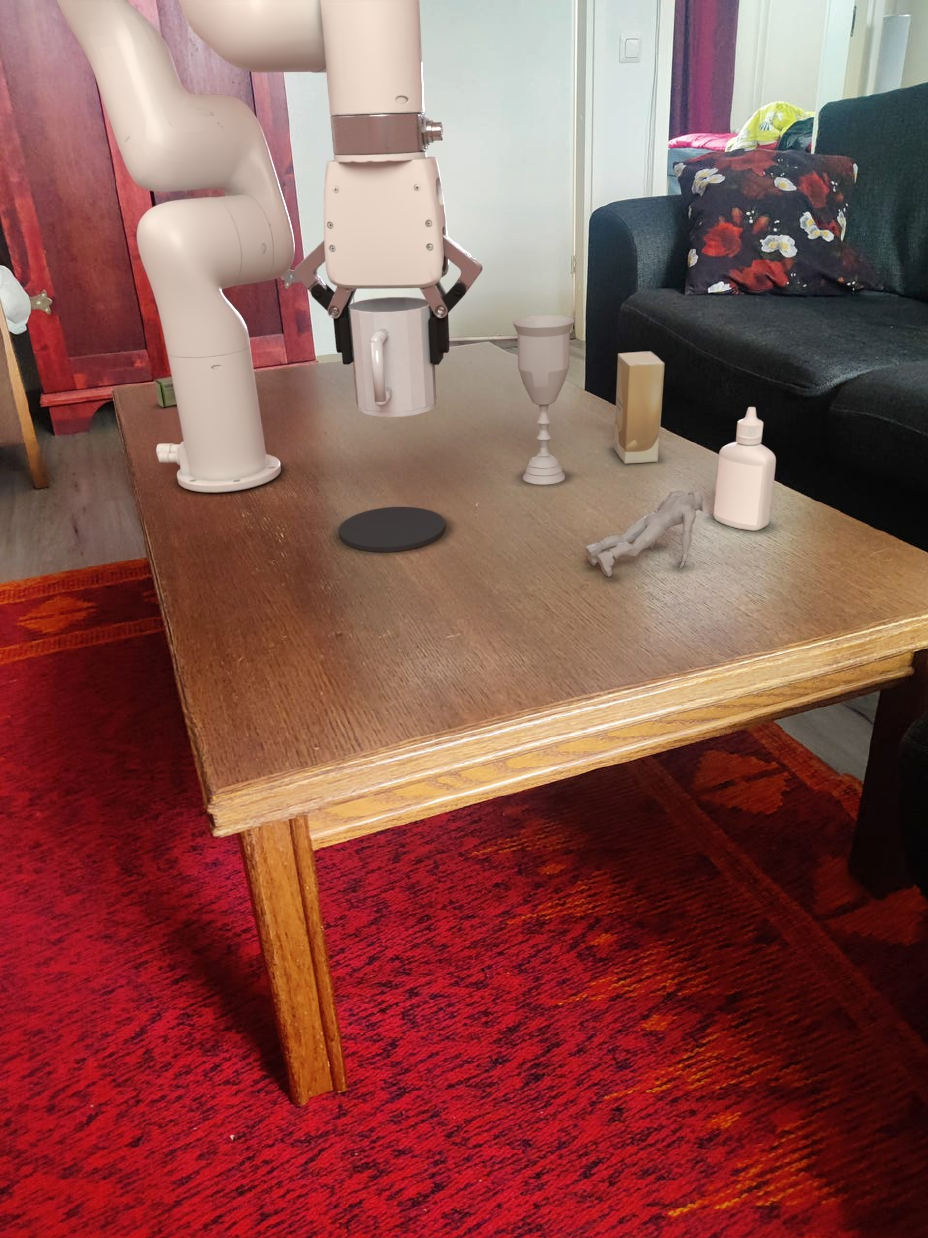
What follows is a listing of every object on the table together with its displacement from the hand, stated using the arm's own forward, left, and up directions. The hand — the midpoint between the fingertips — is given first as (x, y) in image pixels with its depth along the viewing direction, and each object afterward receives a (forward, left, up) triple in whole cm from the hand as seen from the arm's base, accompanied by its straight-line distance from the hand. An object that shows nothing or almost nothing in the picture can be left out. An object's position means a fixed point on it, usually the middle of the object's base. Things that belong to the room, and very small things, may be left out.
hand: (393, 359), depth 85 cm
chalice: (+12, +23, -19) cm, 33 cm away
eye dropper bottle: (+33, +9, -19) cm, 40 cm away
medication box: (-46, +61, -19) cm, 78 cm away
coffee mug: (0, -2, -4) cm, 4 cm away
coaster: (-3, +6, -19) cm, 20 cm away
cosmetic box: (+23, +31, -19) cm, 44 cm away
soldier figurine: (+23, -1, -19) cm, 30 cm away
